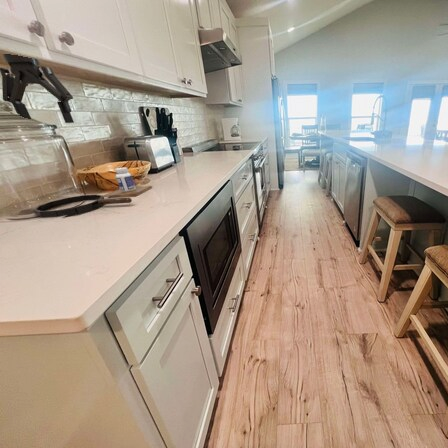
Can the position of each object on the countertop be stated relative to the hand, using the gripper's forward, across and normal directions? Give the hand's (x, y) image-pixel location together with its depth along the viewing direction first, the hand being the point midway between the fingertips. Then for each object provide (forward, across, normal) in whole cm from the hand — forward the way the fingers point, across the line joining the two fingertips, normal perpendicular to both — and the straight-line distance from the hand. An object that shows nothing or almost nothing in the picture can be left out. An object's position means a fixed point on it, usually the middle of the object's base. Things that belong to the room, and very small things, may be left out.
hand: (49, 124), depth 83 cm
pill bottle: (+26, -16, -4) cm, 31 cm away
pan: (+27, -13, +14) cm, 33 cm away
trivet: (+27, -16, -4) cm, 31 cm away
